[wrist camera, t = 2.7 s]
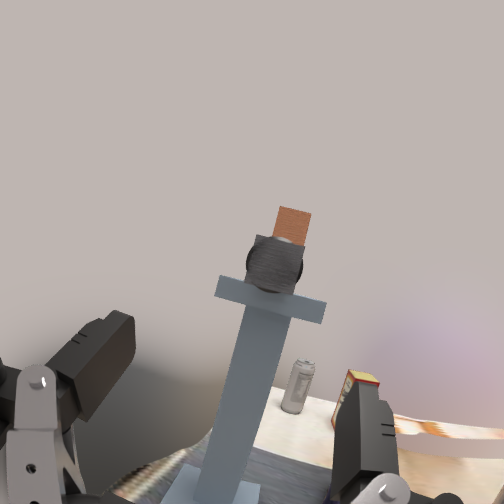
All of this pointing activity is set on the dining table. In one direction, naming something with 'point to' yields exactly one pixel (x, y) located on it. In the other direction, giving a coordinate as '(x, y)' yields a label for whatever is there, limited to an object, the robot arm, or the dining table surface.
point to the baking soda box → (348, 383)
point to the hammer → (279, 254)
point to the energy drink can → (298, 386)
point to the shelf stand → (242, 395)
